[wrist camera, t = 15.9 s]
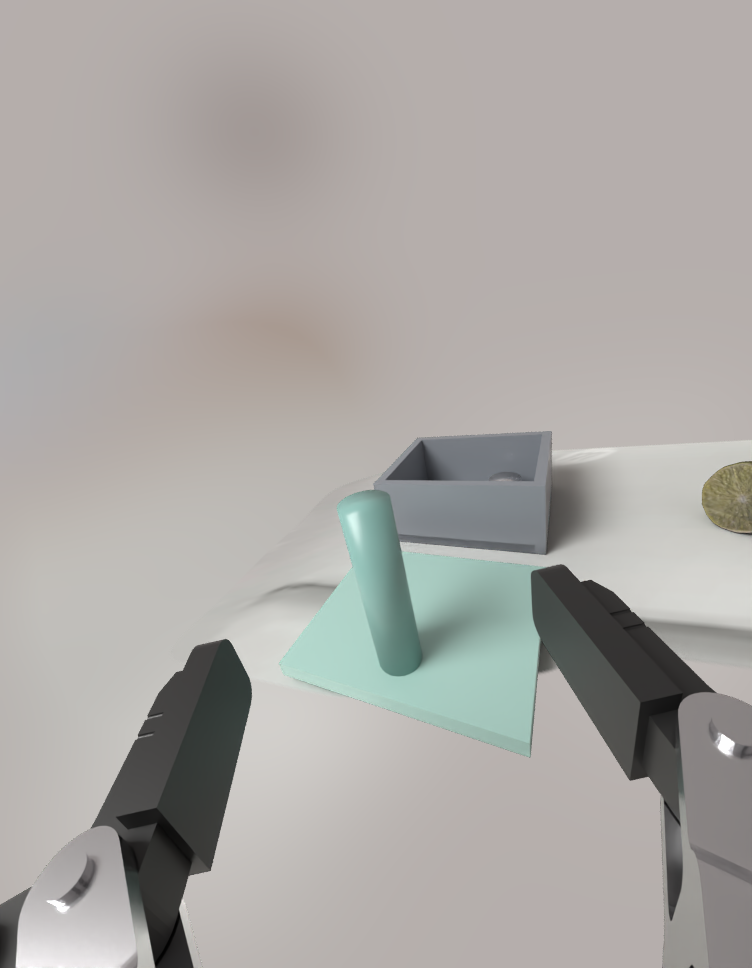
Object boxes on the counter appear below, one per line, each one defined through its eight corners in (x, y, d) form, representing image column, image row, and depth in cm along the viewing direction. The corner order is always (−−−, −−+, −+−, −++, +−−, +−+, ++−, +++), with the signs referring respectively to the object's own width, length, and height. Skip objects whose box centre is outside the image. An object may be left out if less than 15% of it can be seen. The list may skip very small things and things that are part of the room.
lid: (546, 590, 26) (544, 426, 21) (530, 771, 16) (520, 549, 12) (371, 566, 32) (339, 437, 28) (288, 685, 23) (217, 521, 18)
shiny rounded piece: (523, 489, 37) (522, 471, 36) (520, 504, 35) (519, 485, 34) (492, 489, 38) (491, 471, 38) (488, 503, 36) (486, 484, 35)
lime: (796, 547, 24) (817, 479, 22) (700, 535, 27) (712, 474, 25) (780, 514, 28) (797, 452, 26) (696, 507, 30) (706, 450, 28)
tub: (551, 485, 38) (551, 431, 36) (546, 554, 29) (545, 486, 26) (424, 484, 45) (417, 437, 42) (385, 539, 35) (373, 484, 33)
